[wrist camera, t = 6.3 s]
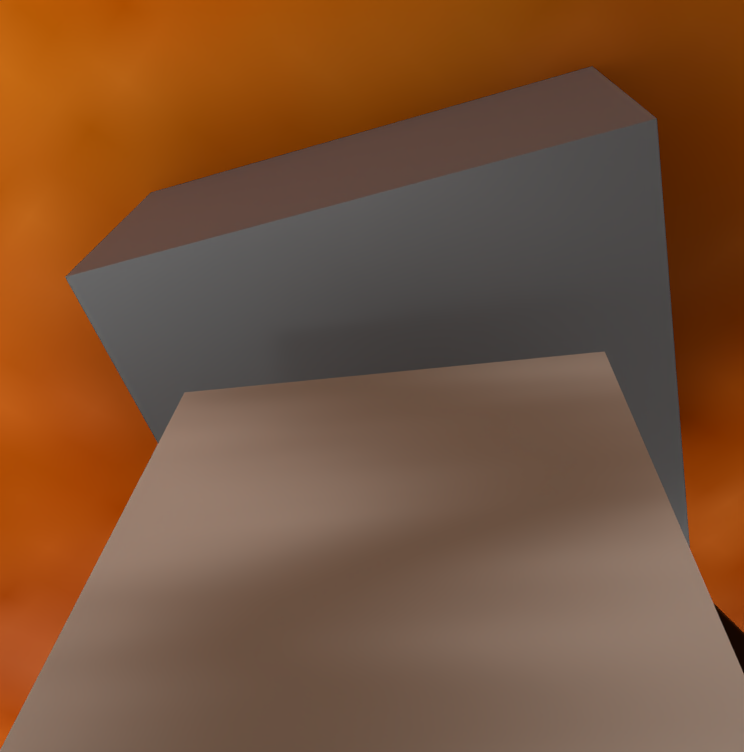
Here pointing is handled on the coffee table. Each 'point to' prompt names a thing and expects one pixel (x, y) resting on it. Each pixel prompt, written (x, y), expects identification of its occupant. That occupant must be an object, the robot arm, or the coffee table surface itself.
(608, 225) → the slate base block
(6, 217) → the coffee table surface
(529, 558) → the cream cube
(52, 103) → the coffee table surface
